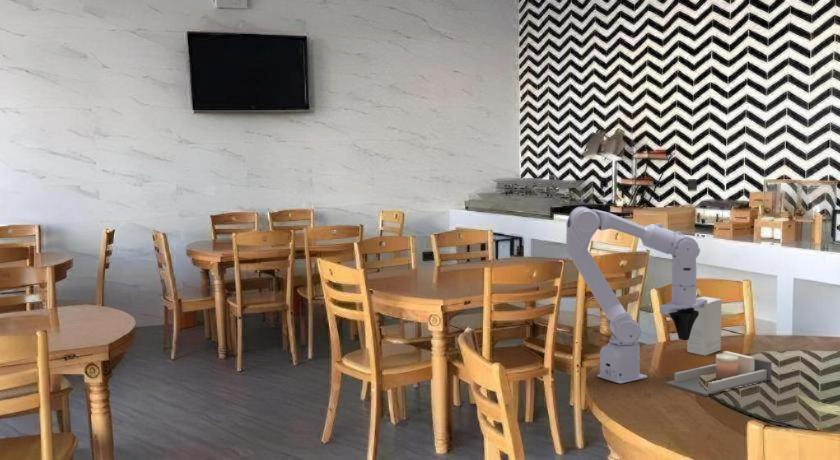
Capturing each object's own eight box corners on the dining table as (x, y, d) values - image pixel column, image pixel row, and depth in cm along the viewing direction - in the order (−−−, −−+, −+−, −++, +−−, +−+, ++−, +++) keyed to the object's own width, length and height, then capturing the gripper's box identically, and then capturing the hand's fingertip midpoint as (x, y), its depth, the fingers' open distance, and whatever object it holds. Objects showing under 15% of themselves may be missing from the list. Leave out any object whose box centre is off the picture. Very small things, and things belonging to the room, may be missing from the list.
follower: (750, 378, 191) (750, 358, 190) (722, 371, 198) (722, 351, 197) (754, 377, 192) (754, 357, 191) (726, 370, 199) (726, 351, 198)
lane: (706, 396, 180) (706, 377, 180) (665, 384, 191) (665, 365, 190) (772, 379, 192) (772, 361, 192) (730, 369, 202) (731, 351, 202)
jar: (725, 381, 190) (725, 359, 189) (711, 376, 194) (711, 354, 194) (742, 379, 191) (742, 357, 191) (728, 374, 196) (728, 352, 195)
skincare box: (702, 347, 226) (702, 295, 224) (722, 351, 221) (722, 298, 220) (686, 352, 220) (686, 299, 219) (705, 356, 216) (706, 302, 214)
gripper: (675, 290, 188) (675, 346, 189) (717, 283, 195) (717, 338, 196) (653, 286, 194) (653, 341, 195) (694, 280, 201) (694, 333, 202)
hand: (683, 339), depth 196 cm, fingers closed
